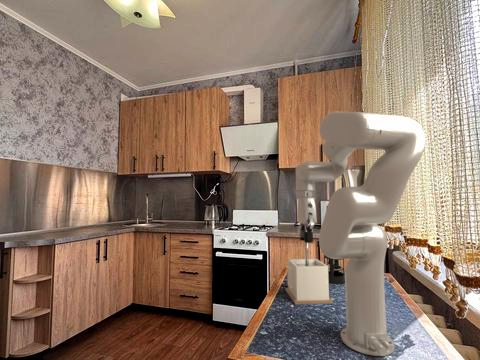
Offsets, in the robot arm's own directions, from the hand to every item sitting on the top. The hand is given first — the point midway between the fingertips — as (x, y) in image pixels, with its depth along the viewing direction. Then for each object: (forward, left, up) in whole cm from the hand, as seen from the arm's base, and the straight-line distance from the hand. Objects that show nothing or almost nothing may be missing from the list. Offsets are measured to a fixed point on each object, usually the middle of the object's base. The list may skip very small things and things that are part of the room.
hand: (306, 240), depth 100 cm
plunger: (0, 0, -11) cm, 11 cm away
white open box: (0, 0, -21) cm, 21 cm away
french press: (+18, -19, -22) cm, 34 cm away
